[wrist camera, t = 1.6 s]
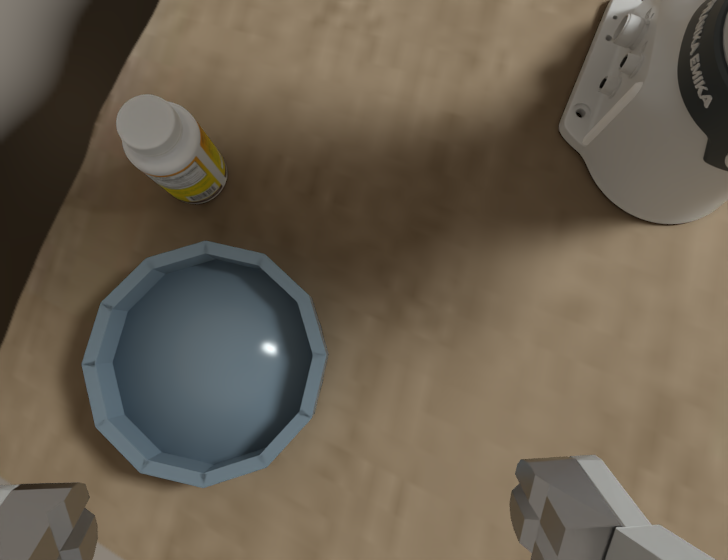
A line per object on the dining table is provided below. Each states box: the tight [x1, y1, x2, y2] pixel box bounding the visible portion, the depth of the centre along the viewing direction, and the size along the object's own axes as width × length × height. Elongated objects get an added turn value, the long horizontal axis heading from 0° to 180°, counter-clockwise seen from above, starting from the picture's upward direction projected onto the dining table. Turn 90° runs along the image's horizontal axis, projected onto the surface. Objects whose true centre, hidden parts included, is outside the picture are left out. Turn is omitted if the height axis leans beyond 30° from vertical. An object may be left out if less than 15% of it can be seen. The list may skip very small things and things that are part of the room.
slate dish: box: [82, 241, 329, 488], centre depth 37 cm, size 18×18×4 cm
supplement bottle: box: [116, 94, 227, 204], centre depth 36 cm, size 6×6×10 cm
